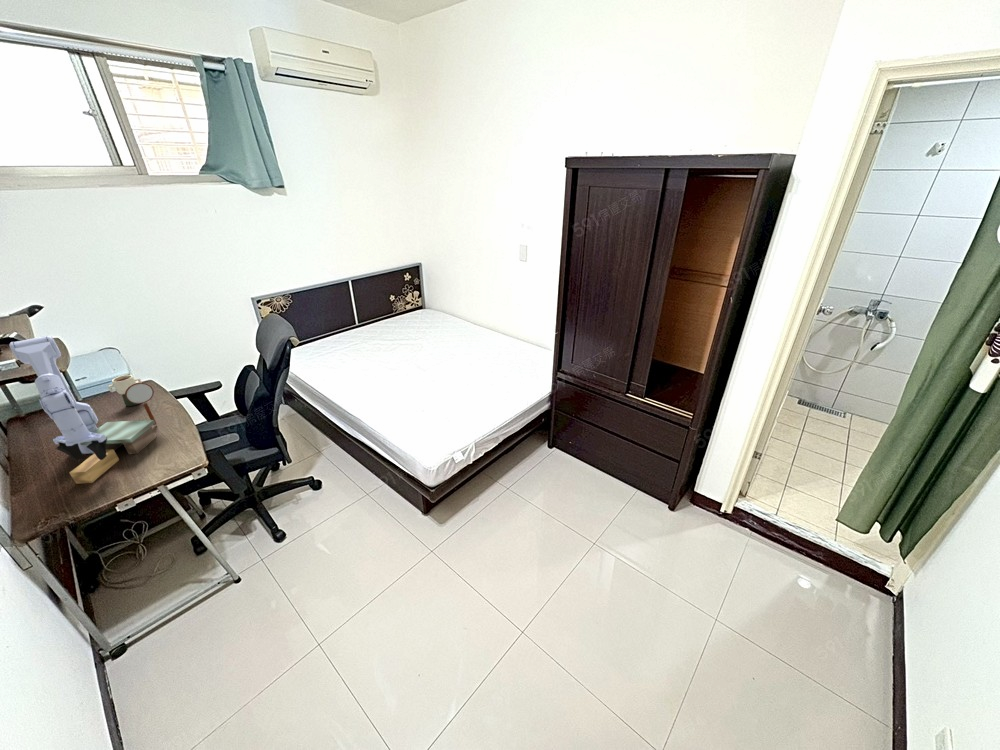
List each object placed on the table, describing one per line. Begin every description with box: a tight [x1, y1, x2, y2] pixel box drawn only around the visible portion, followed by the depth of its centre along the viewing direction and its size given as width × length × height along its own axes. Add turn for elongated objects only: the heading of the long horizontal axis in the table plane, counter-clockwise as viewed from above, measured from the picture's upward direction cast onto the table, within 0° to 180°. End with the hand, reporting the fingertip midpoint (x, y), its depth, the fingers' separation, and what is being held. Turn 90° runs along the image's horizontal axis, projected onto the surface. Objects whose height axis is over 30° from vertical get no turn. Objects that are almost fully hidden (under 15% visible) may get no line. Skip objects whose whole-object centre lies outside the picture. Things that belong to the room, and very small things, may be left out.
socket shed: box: [80, 419, 157, 455], centre depth 149 cm, size 17×12×8 cm
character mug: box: [107, 374, 143, 407], centre depth 176 cm, size 11×7×13 cm, turn 134°
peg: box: [69, 449, 120, 484], centre depth 138 cm, size 5×12×5 cm, turn 5°
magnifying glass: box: [125, 382, 157, 427], centre depth 159 cm, size 9×2×20 cm, turn 145°
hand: (91, 458), depth 136 cm, fingers open, 7 cm apart
